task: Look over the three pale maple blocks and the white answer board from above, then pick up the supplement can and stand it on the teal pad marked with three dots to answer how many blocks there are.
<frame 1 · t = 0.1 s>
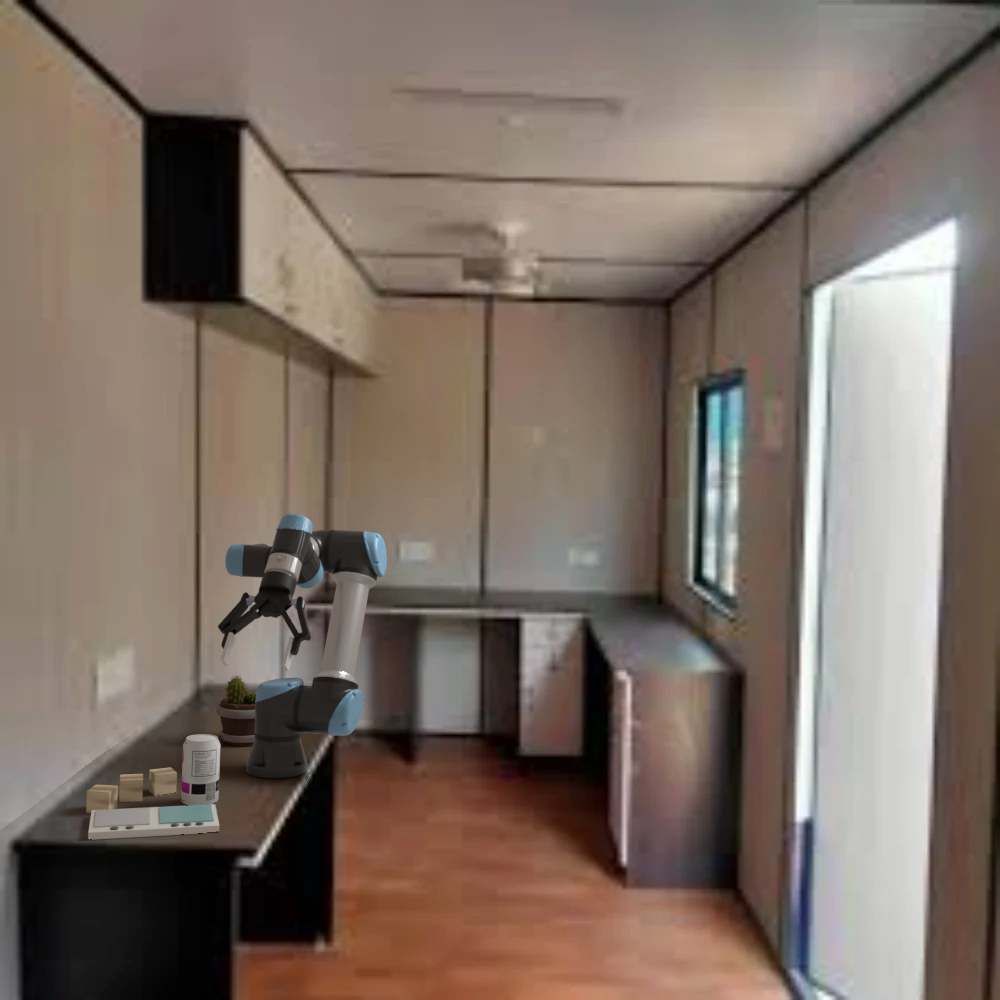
hand: (254, 665, 234), 36 cm above the table, tool tilted 35°, fingers open, 13 cm apart
answer board: (154, 824, 239), on the table
maple block C: (101, 810, 247), on the table
supplement can: (199, 803, 255), on the table
maple block B: (130, 798, 257), on the table
flowerpot: (242, 743, 311), on the table
maple block A: (162, 792, 262), on the table
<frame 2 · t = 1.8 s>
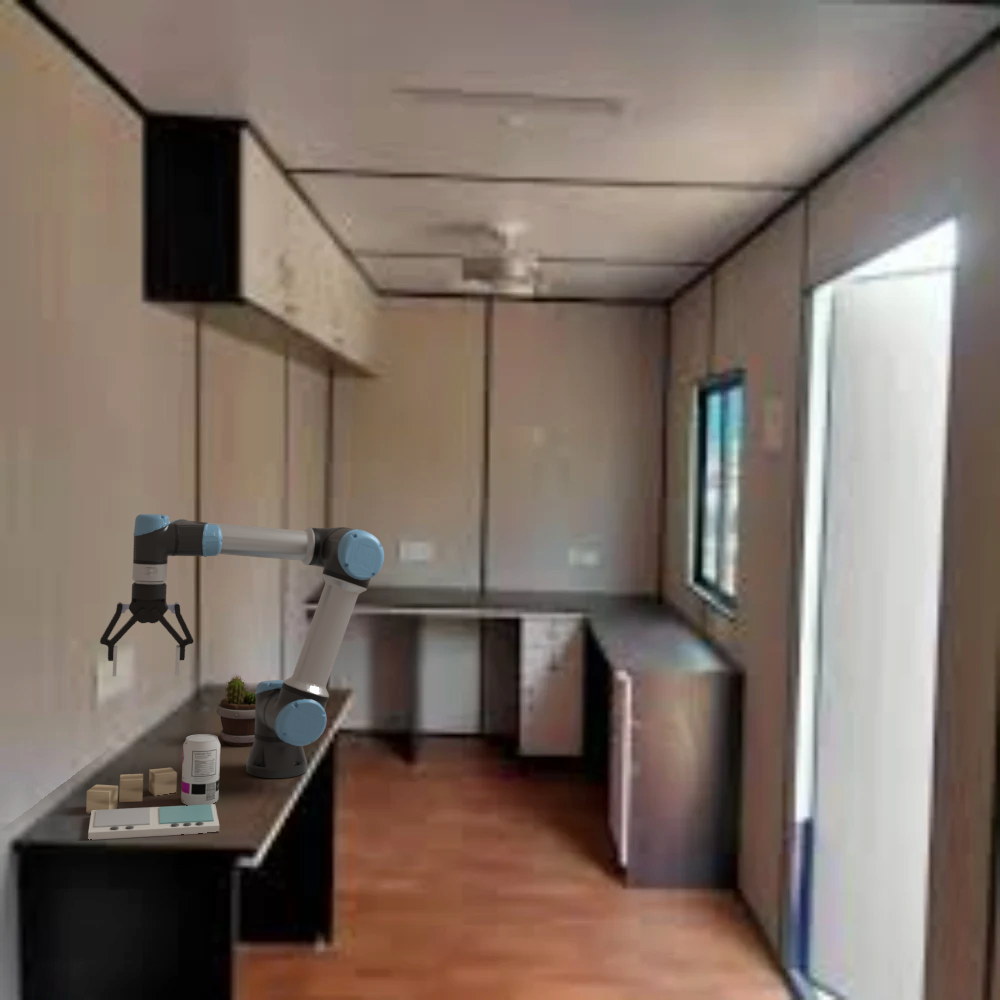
hand: (145, 675, 255), 29 cm above the table, tool pointing down, fingers open, 13 cm apart
nothing on the table moved.
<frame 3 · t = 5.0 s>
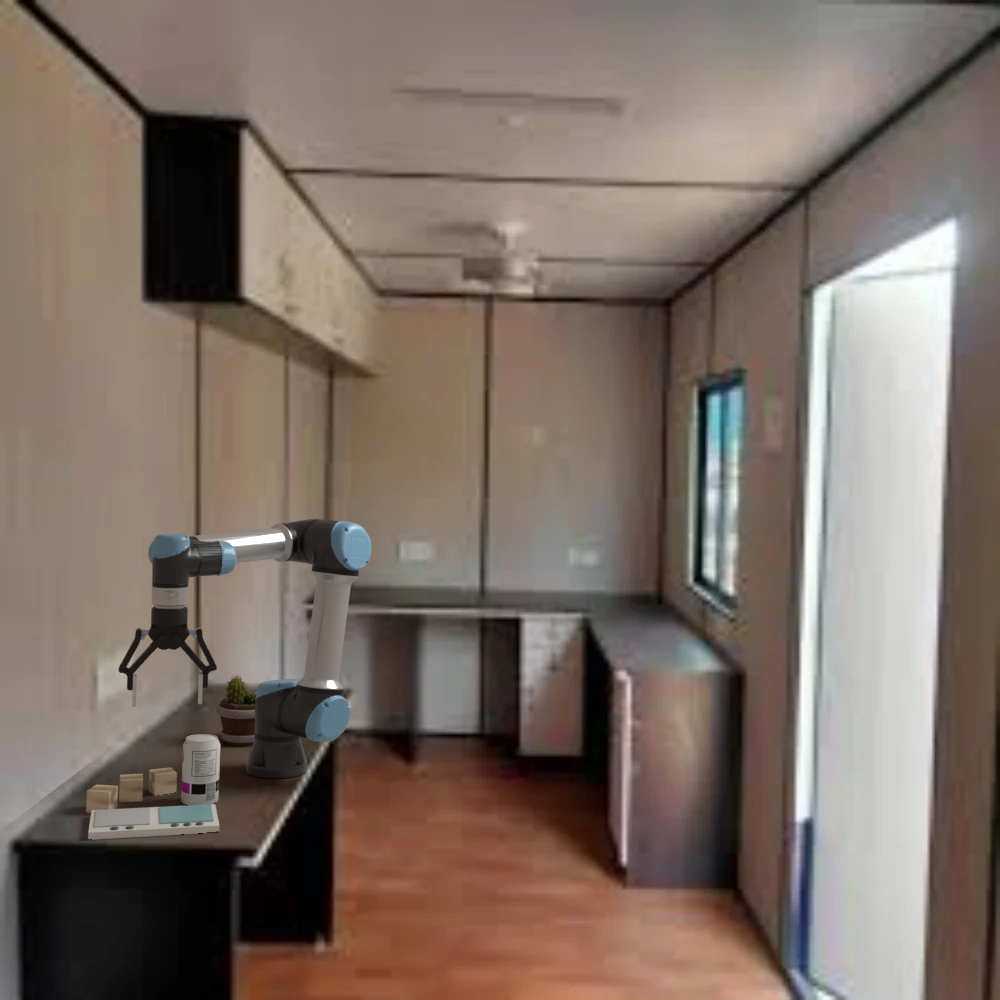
hand: (167, 704, 241), 25 cm above the table, tool pointing down, fingers open, 13 cm apart
nothing on the table moved.
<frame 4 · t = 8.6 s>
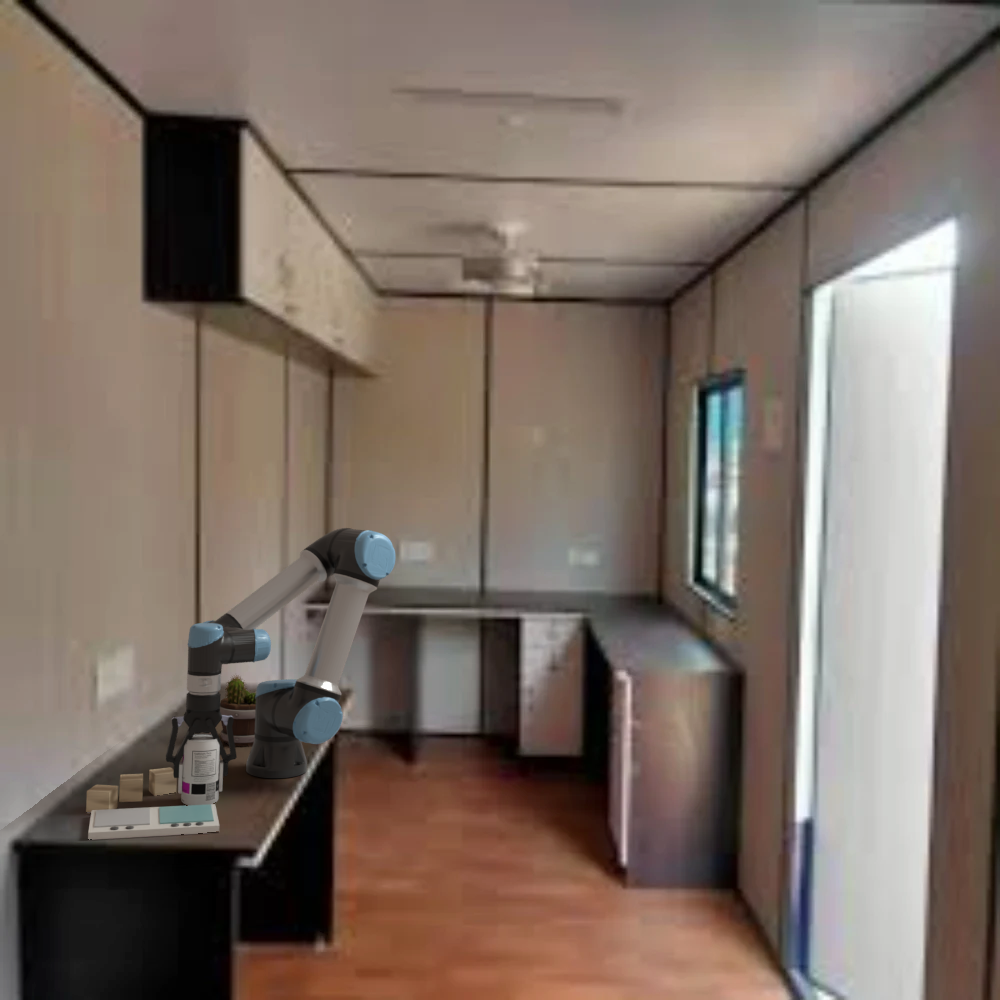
hand: (200, 790, 255), 3 cm above the table, tool pointing down, fingers closed on supplement can, 8 cm apart
supplement can: (199, 803, 255), on the table, touching gripper
everything else where it was.
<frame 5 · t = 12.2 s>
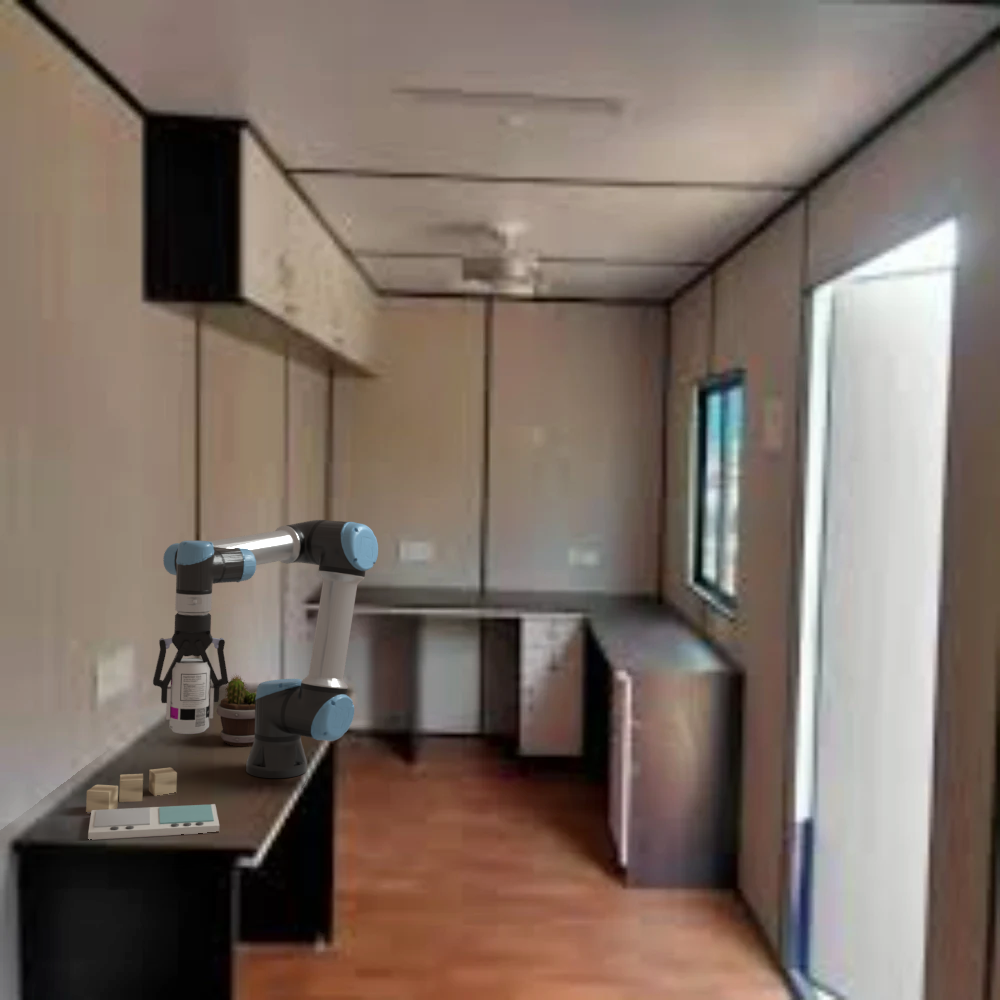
hand: (189, 717, 241), 23 cm above the table, tool pointing down, fingers closed on supplement can, 8 cm apart
supplement can: (189, 731, 241), point 20 cm above the table, touching gripper
everything else where it was.
when the fingers open (6 cm above the table, at t = 16.0 s): supplement can drops 2 cm, resting on answer board.
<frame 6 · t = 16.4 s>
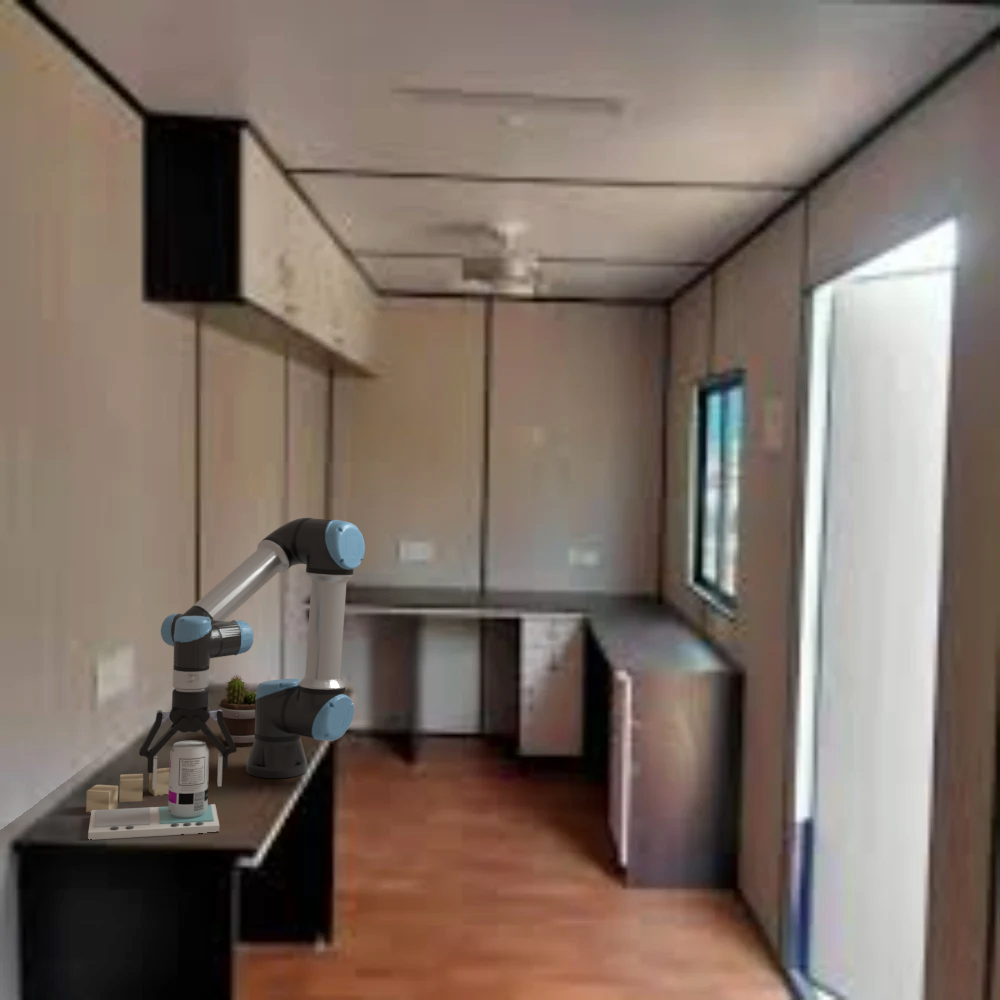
hand: (187, 786, 242), 8 cm above the table, tool pointing down, fingers open, 13 cm apart
supplement can: (187, 814, 242), point 2 cm above the table, touching answer board
everything else where it was.
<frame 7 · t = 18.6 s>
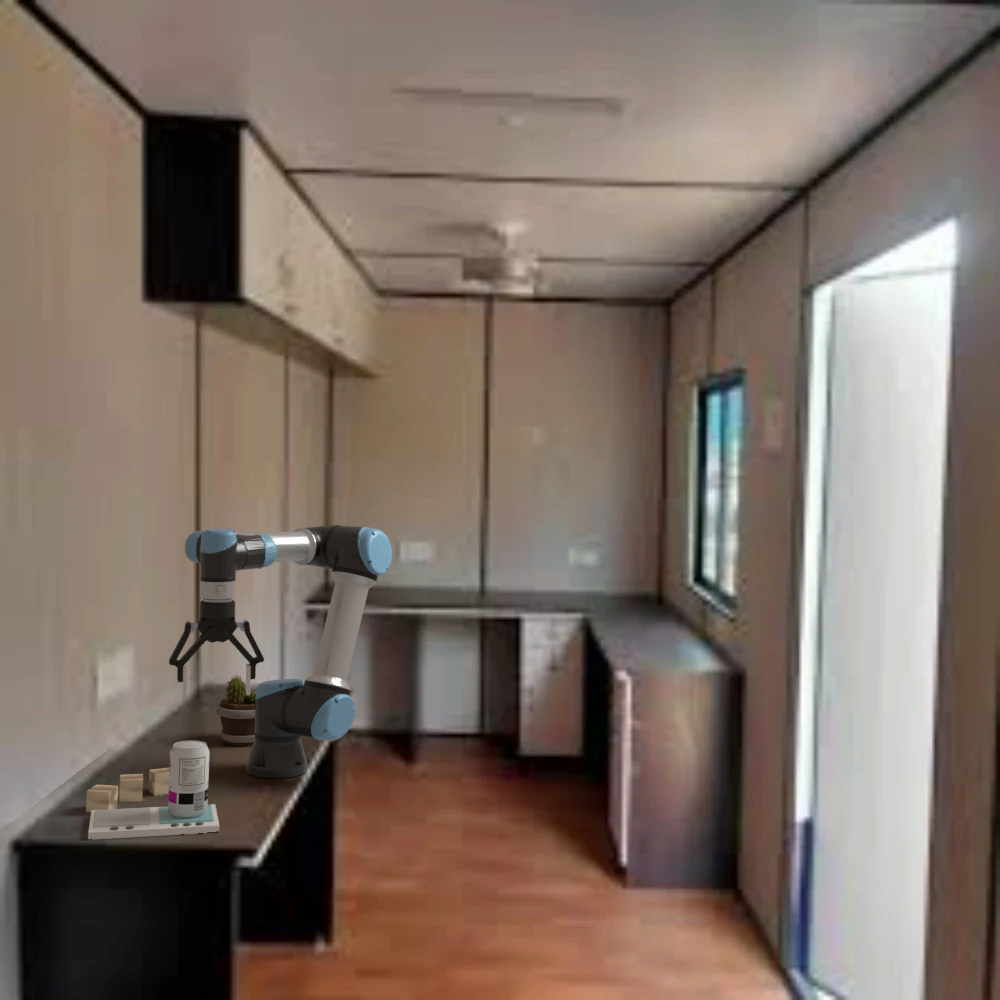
hand: (216, 695, 247), 27 cm above the table, tool pointing down, fingers open, 13 cm apart
nothing on the table moved.
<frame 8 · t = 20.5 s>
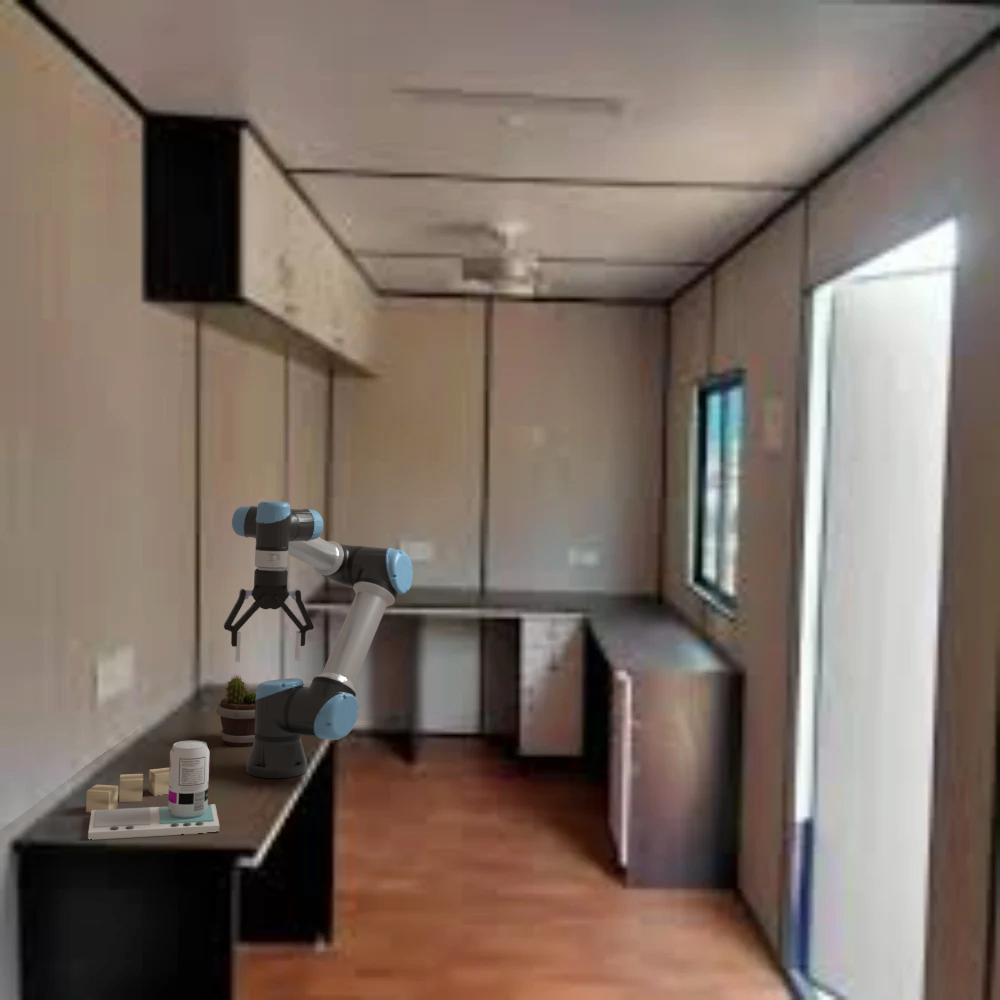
hand: (267, 660, 258), 33 cm above the table, tool pointing down, fingers open, 13 cm apart
nothing on the table moved.
at the end: supplement can 0.3 cm from the target spot on the answer board, point 1.6 cm above the answer board's base; supplement can tilted 0°; the gripper is holding nothing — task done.
